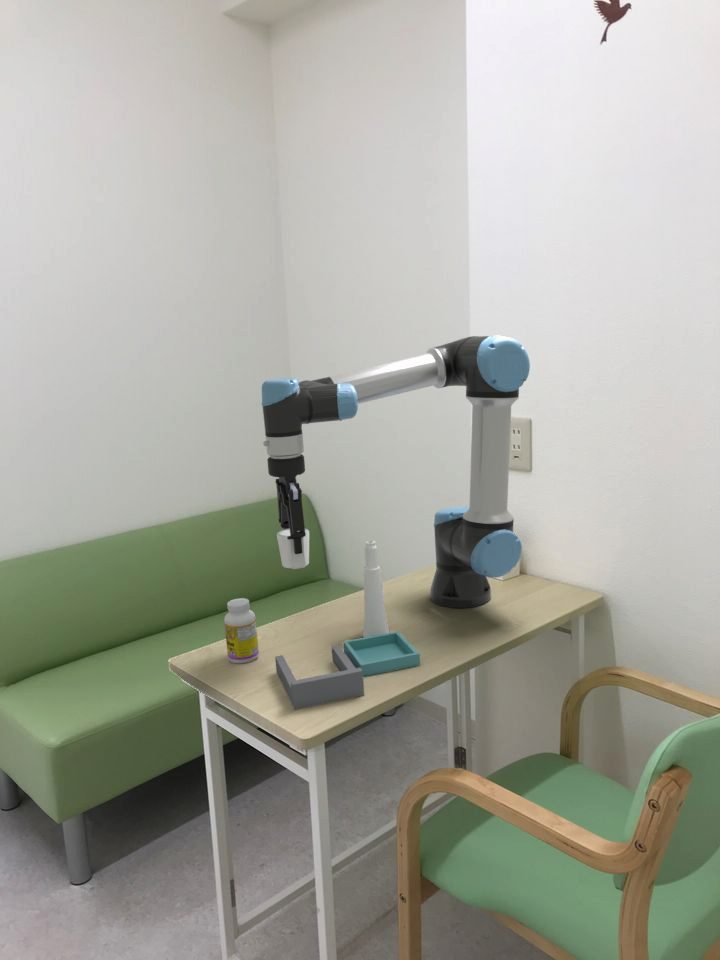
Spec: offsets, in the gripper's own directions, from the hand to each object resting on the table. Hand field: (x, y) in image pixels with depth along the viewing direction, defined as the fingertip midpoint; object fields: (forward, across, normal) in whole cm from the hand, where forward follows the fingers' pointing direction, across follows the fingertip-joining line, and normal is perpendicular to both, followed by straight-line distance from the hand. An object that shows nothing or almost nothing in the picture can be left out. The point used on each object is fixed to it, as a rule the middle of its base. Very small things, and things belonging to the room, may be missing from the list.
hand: (294, 562), depth 161 cm
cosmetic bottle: (+21, -3, +18) cm, 28 cm away
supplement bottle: (+21, -4, -12) cm, 25 cm away
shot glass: (+1, 0, 0) cm, 1 cm away
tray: (+21, +9, +15) cm, 27 cm away
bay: (+21, +14, 0) cm, 25 cm away
